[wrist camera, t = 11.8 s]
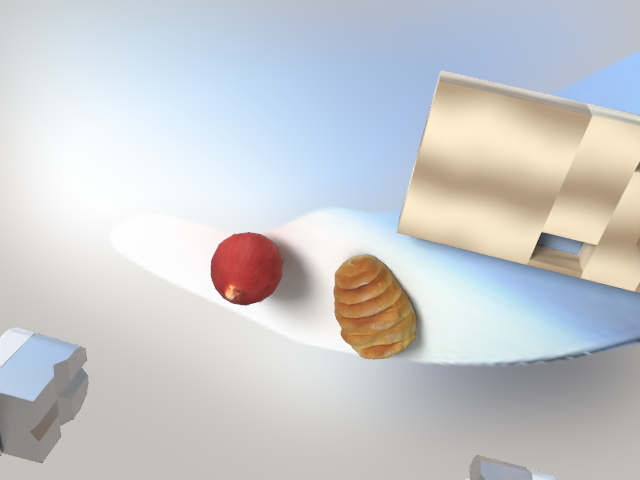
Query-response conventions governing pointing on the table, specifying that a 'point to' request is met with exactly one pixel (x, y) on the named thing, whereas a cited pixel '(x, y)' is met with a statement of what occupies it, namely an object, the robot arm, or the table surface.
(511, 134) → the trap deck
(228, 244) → the onion
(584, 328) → the table surface
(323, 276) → the table surface
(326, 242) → the table surface
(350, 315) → the pastry
